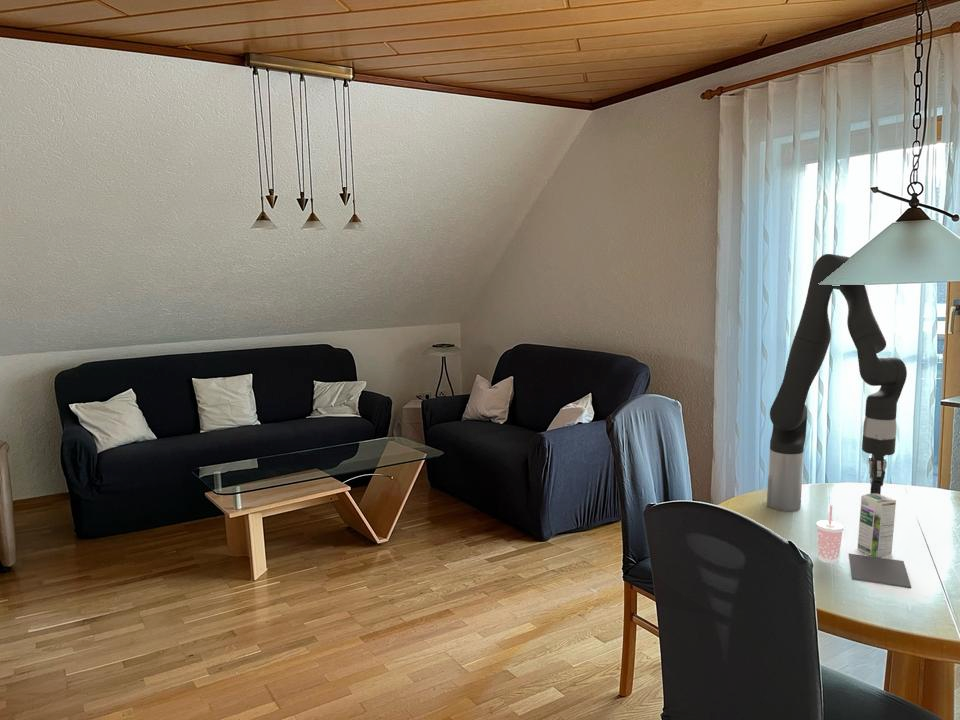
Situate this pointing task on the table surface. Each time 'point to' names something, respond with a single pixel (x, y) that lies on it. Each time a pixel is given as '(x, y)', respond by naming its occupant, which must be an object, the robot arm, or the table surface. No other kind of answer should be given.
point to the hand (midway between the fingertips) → (875, 498)
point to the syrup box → (876, 525)
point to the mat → (879, 570)
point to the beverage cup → (829, 539)
